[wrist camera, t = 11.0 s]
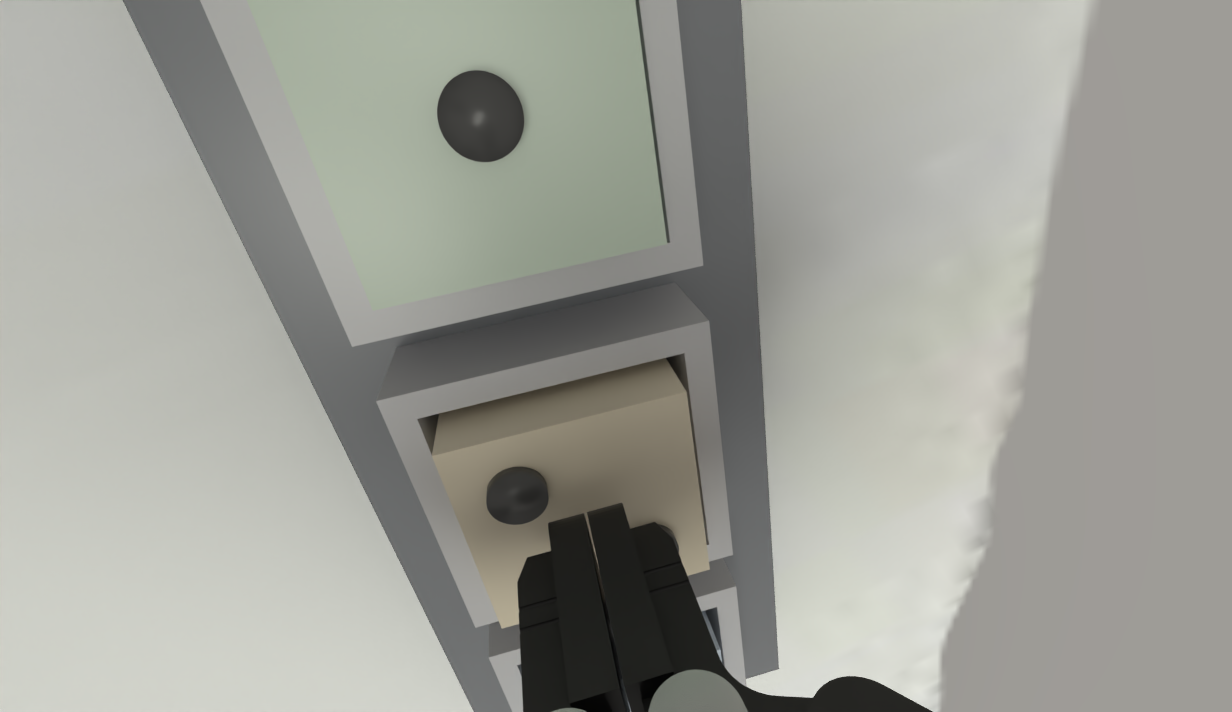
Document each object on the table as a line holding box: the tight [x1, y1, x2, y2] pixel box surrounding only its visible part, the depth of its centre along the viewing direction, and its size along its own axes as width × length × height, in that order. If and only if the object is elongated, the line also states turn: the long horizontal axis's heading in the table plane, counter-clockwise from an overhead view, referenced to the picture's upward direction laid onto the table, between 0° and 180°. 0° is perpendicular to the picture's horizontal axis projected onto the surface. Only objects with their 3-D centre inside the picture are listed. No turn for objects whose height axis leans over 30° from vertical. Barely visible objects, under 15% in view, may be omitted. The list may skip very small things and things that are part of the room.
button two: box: [432, 358, 710, 629], centre depth 13 cm, size 5×5×4 cm
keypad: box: [123, 0, 779, 712], centre depth 15 cm, size 26×11×4 cm, turn 10°
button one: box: [247, 0, 667, 311], centre depth 10 cm, size 5×5×4 cm
